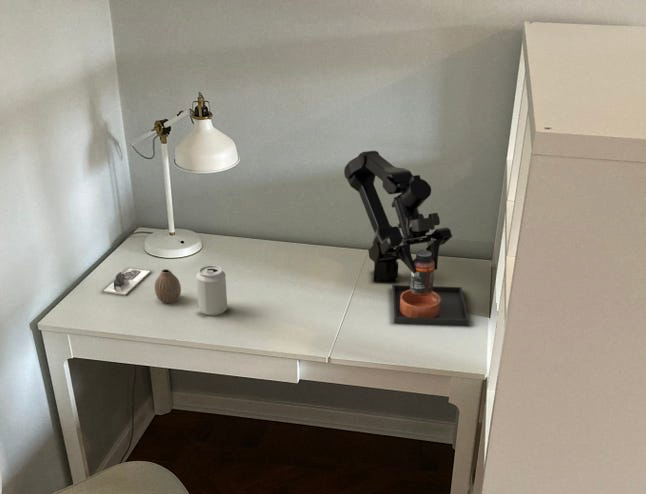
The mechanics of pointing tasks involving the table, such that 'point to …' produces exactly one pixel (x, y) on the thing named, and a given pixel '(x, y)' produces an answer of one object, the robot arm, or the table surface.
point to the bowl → (420, 305)
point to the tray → (449, 309)
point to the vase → (167, 287)
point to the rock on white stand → (126, 281)
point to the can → (212, 290)
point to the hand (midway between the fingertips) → (425, 271)
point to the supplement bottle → (422, 274)
